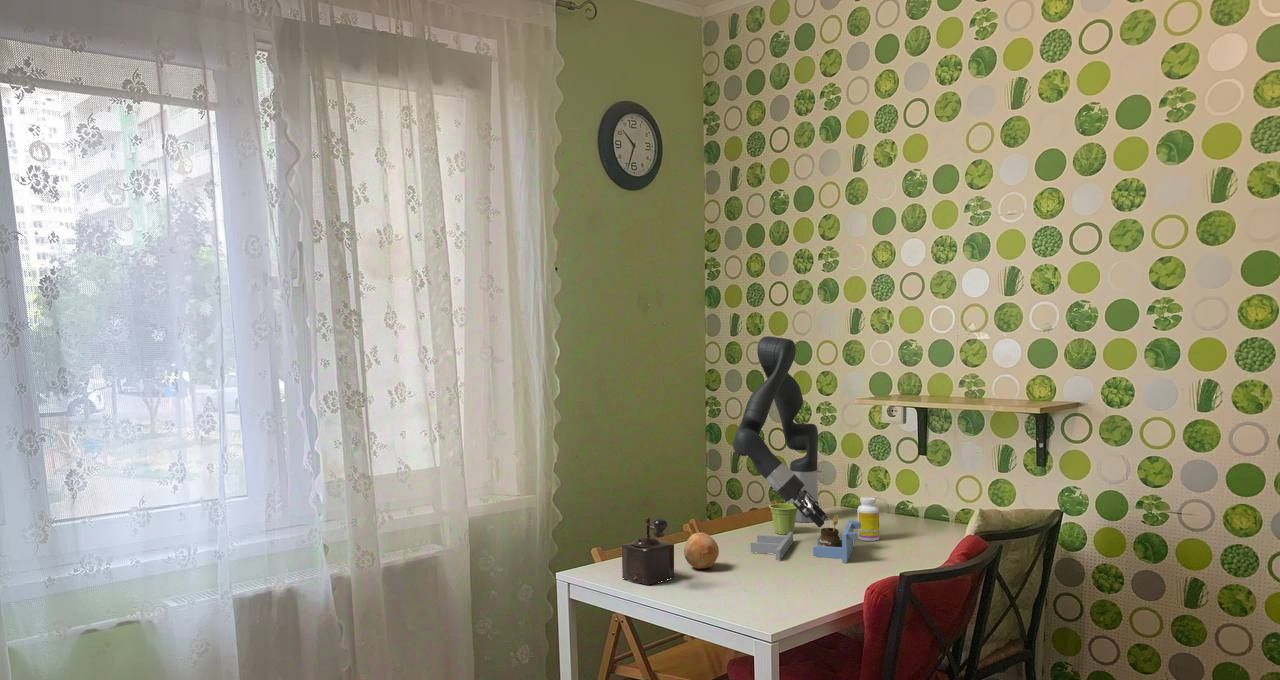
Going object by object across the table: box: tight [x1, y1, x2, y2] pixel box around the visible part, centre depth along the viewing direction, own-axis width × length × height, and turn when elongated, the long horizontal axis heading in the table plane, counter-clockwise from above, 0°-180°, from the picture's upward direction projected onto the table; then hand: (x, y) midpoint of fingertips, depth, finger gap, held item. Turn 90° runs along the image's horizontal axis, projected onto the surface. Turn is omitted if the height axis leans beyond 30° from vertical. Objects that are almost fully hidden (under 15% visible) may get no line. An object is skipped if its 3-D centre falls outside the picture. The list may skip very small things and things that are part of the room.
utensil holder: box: [819, 514, 841, 547], centre depth 270 cm, size 6×6×12 cm
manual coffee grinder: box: [621, 516, 675, 586], centre depth 245 cm, size 16×11×18 cm
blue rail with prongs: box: [812, 519, 861, 564], centre depth 269 cm, size 12×20×8 cm, turn 162°
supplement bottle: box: [856, 496, 880, 542], centre depth 286 cm, size 7×7×13 cm
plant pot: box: [768, 503, 797, 535], centre depth 298 cm, size 9×9×9 cm
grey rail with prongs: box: [750, 532, 794, 561], centre depth 276 cm, size 10×24×3 cm, turn 161°
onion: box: [683, 532, 720, 570], centre depth 256 cm, size 10×10×10 cm
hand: (824, 522), depth 271 cm, fingers open, 8 cm apart
